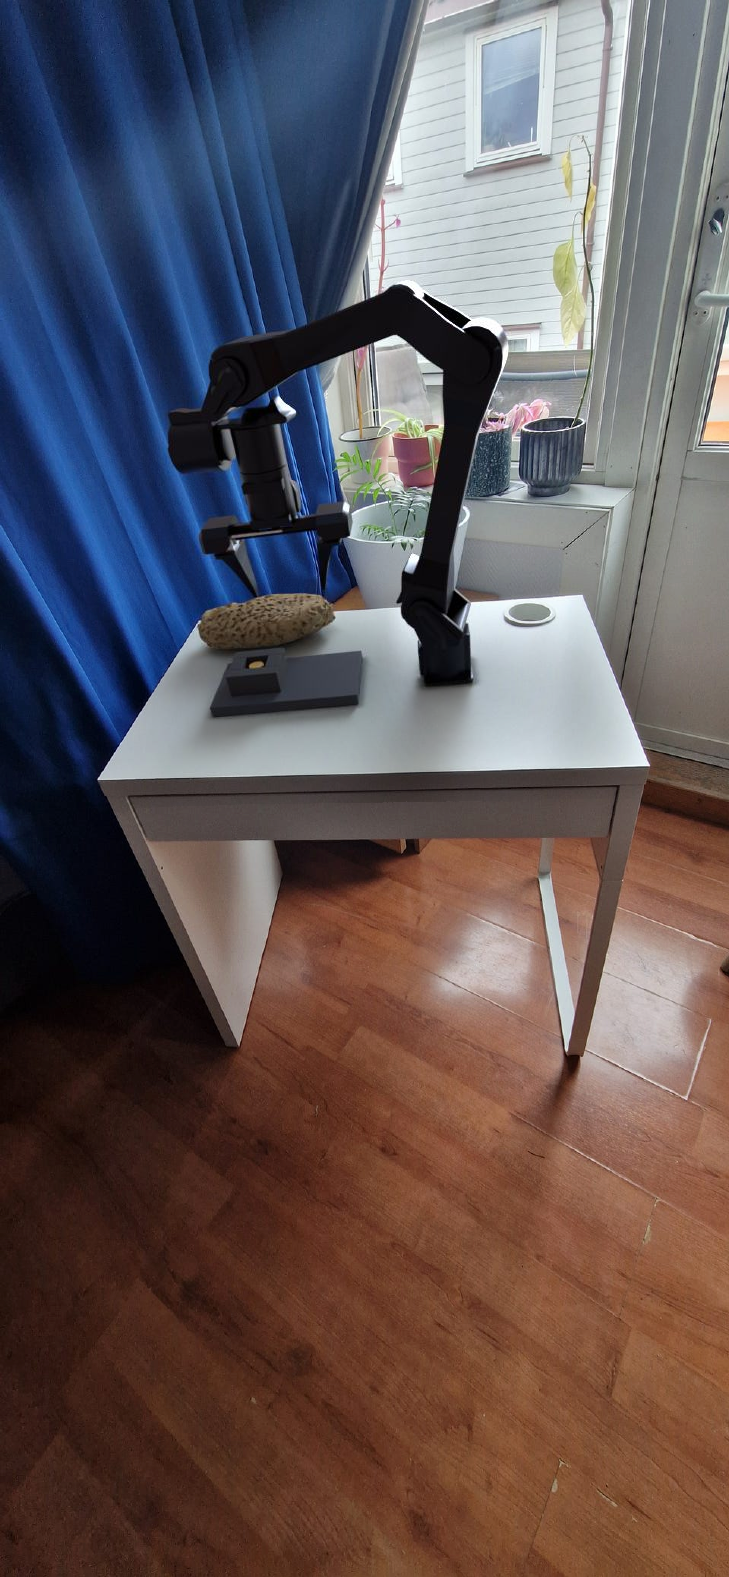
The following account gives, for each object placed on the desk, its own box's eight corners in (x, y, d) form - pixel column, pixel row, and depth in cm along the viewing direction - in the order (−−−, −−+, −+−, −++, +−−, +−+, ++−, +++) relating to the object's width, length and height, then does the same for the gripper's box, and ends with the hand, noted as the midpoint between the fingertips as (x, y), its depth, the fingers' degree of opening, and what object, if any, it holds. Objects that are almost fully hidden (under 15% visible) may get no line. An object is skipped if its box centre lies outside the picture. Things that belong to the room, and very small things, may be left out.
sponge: (204, 666, 103) (313, 646, 94) (185, 617, 99) (296, 592, 91) (245, 640, 113) (347, 620, 104) (230, 596, 110) (333, 571, 101)
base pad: (362, 659, 95) (359, 634, 92) (358, 704, 86) (354, 678, 83) (230, 672, 97) (223, 648, 95) (212, 717, 88) (204, 692, 86)
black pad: (288, 666, 93) (283, 647, 91) (281, 692, 88) (276, 672, 86) (241, 670, 94) (235, 652, 92) (231, 696, 89) (225, 677, 87)
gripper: (346, 440, 82) (362, 562, 92) (203, 460, 84) (234, 576, 94) (339, 463, 73) (358, 595, 83) (181, 484, 76) (217, 610, 86)
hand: (290, 593), depth 87 cm, fingers open, 9 cm apart
